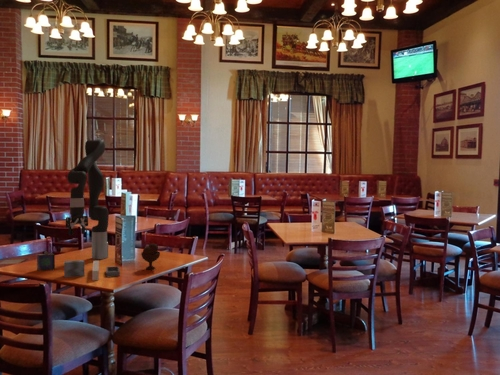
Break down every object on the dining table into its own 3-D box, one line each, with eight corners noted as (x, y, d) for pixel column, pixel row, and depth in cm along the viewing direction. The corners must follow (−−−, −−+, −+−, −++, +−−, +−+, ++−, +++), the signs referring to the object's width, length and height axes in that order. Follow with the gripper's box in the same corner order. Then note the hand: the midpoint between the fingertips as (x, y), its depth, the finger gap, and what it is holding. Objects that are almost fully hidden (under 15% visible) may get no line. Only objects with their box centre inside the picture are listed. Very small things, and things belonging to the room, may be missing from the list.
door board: (93, 269, 259) (93, 260, 259) (98, 269, 260) (98, 260, 259) (92, 280, 236) (92, 270, 236) (98, 280, 237) (98, 270, 237)
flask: (36, 270, 253) (36, 252, 253) (37, 269, 256) (37, 251, 255) (54, 269, 256) (54, 251, 256) (55, 268, 259) (55, 250, 258)
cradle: (106, 271, 256) (106, 266, 256) (118, 270, 258) (118, 266, 258) (106, 276, 244) (106, 272, 243) (119, 276, 246) (119, 271, 246)
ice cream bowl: (151, 265, 271) (151, 241, 270) (163, 268, 264) (164, 243, 263) (137, 268, 263) (137, 243, 262) (149, 272, 256) (149, 245, 255)
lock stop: (64, 277, 241) (64, 262, 241) (64, 275, 245) (64, 261, 244) (84, 276, 244) (84, 261, 244) (84, 274, 248) (84, 260, 247)
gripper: (82, 205, 264) (82, 233, 264) (62, 206, 251) (62, 235, 251) (91, 205, 261) (91, 233, 261) (71, 206, 248) (71, 236, 248)
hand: (77, 234), depth 256 cm, fingers open, 8 cm apart
